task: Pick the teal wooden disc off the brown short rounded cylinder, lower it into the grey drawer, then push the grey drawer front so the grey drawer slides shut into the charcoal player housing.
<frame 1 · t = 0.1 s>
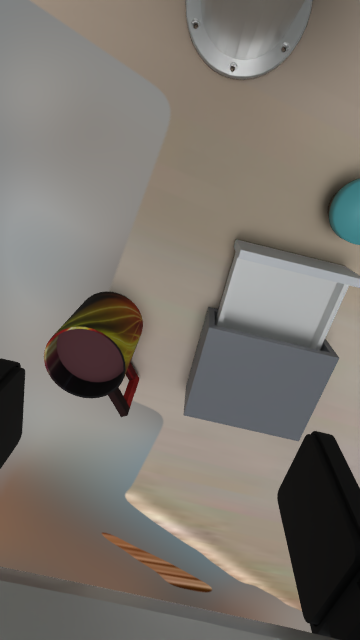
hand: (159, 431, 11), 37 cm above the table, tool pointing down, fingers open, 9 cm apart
grey drawer: (278, 308, 44), point 4 cm above the table, slide at 9.0 cm
housing: (250, 361, 52), on the table
mug: (122, 330, 51), on the table
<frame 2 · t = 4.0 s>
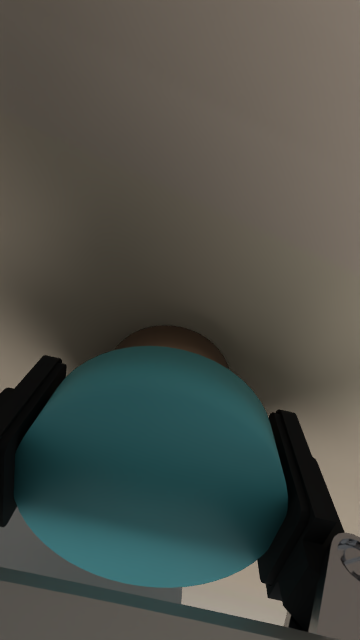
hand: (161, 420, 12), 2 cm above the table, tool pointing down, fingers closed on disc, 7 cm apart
brown short rounded cylinder: (168, 382, 14), on the table
disc: (157, 446, 10), point 3 cm above the table, touching gripper, brown short rounded cylinder
when the fingers open (4 cm above the table, at t = 8.7 s): disc drops 3 cm, resting on grey drawer.
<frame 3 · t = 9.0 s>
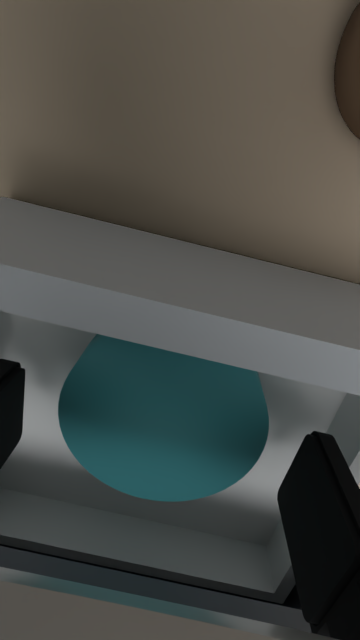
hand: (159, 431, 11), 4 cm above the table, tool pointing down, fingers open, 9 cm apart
grey drawer: (154, 444, 12), point 4 cm above the table, slide at 9.0 cm, touching disc
housing: (127, 531, 20), on the table
disc: (167, 391, 13), point 2 cm above the table, touching grey drawer
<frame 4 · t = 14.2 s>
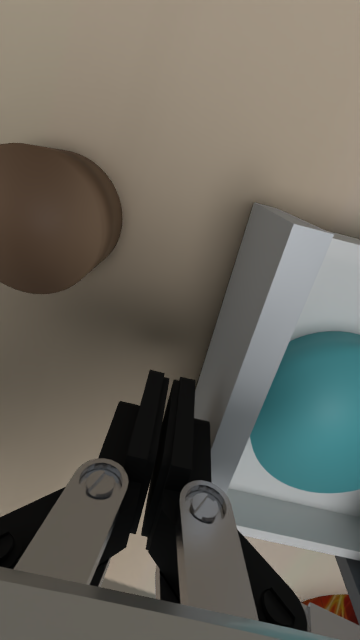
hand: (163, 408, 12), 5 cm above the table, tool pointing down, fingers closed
brown short rounded cylinder: (65, 213, 15), on the table
mug: (359, 618, 26), on the table
disc: (322, 400, 15), point 2 cm above the table, touching grey drawer
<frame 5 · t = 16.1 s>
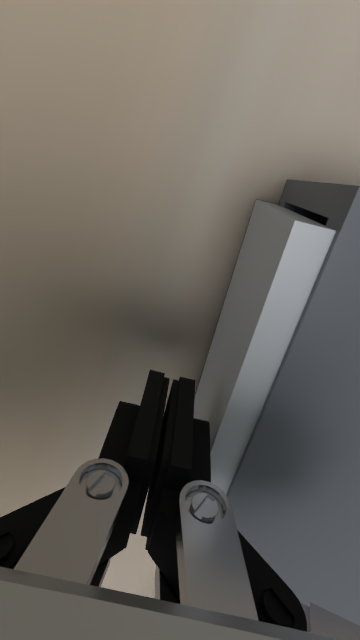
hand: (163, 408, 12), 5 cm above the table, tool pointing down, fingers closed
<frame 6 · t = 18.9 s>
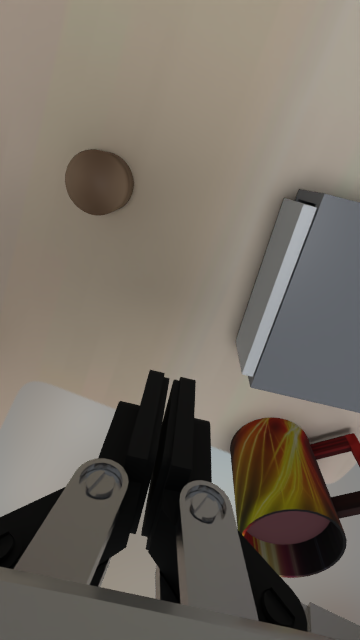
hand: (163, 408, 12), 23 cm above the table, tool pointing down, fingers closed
grey drawer: (334, 303, 31), point 4 cm above the table, slide at 0.0 cm, touching disc
housing: (335, 294, 34), on the table
brown short rounded cylinder: (106, 182, 31), on the table
mug: (281, 438, 42), on the table
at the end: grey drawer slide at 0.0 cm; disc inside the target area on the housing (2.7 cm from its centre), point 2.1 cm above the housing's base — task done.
